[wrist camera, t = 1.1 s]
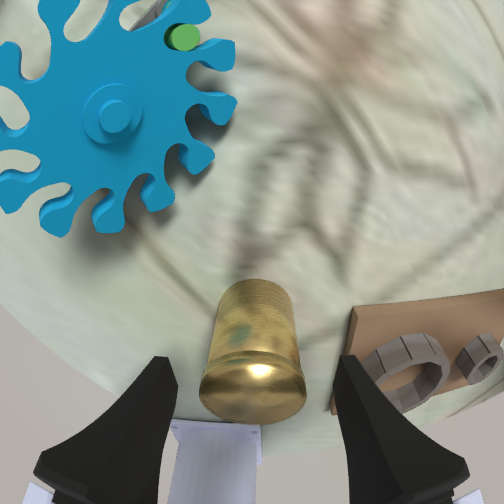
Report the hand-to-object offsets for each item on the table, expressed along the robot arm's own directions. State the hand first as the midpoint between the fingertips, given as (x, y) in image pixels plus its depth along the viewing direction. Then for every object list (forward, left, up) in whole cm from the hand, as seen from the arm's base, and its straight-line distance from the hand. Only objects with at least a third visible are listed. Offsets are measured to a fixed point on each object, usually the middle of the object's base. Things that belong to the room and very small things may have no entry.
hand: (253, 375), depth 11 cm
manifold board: (-5, -13, -5) cm, 15 cm away
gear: (+11, +4, -5) cm, 13 cm away
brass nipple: (0, 0, -5) cm, 5 cm away
